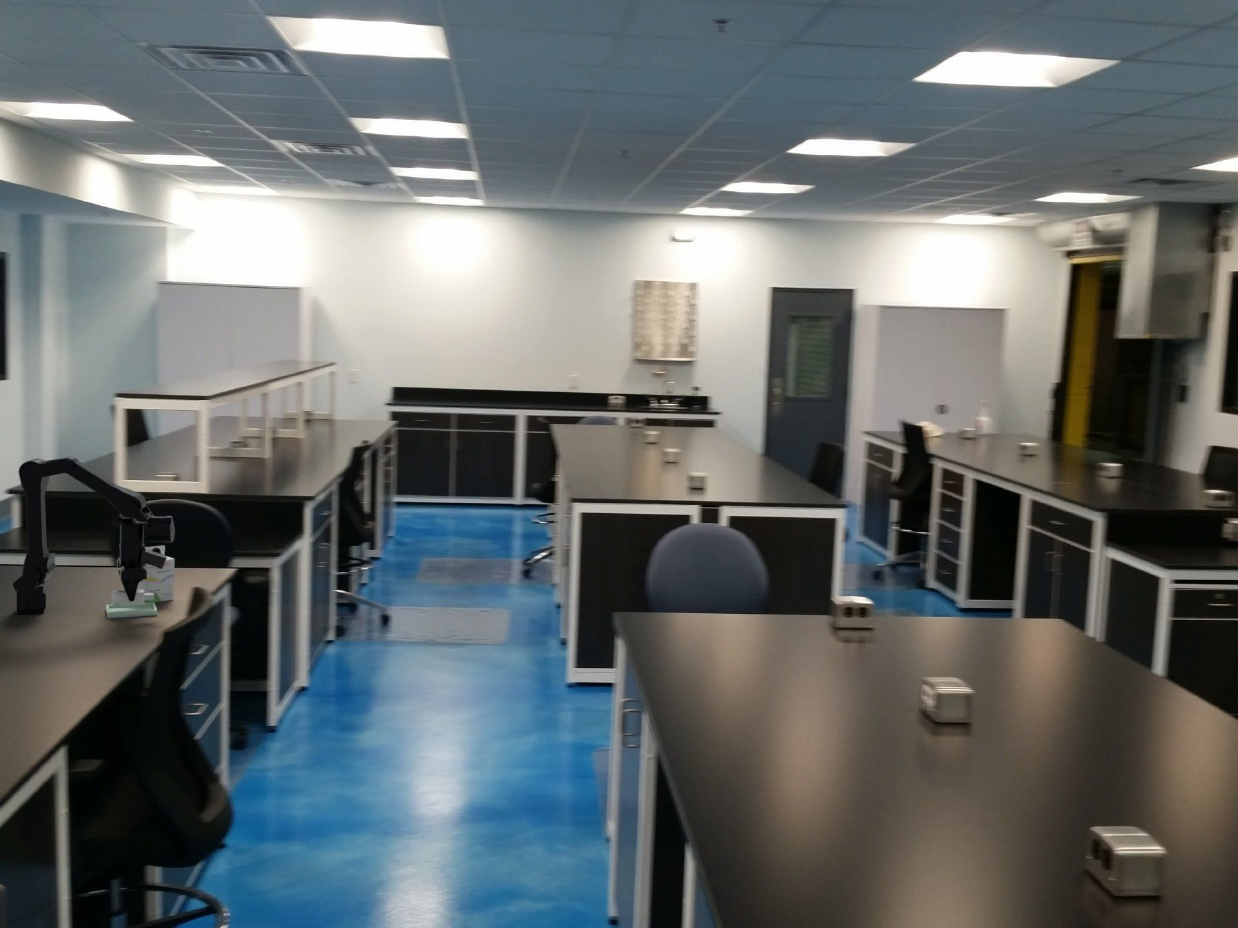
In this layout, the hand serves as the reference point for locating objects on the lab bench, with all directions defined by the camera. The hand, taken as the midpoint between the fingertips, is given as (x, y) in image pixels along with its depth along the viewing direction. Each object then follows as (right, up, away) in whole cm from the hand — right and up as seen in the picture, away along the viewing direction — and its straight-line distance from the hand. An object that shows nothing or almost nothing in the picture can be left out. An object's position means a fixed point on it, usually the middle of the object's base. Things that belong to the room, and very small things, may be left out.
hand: (131, 599), depth 311 cm
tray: (0, -4, 0) cm, 4 cm away
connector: (0, -1, 0) cm, 1 cm away
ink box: (+1, -2, +15) cm, 15 cm away
